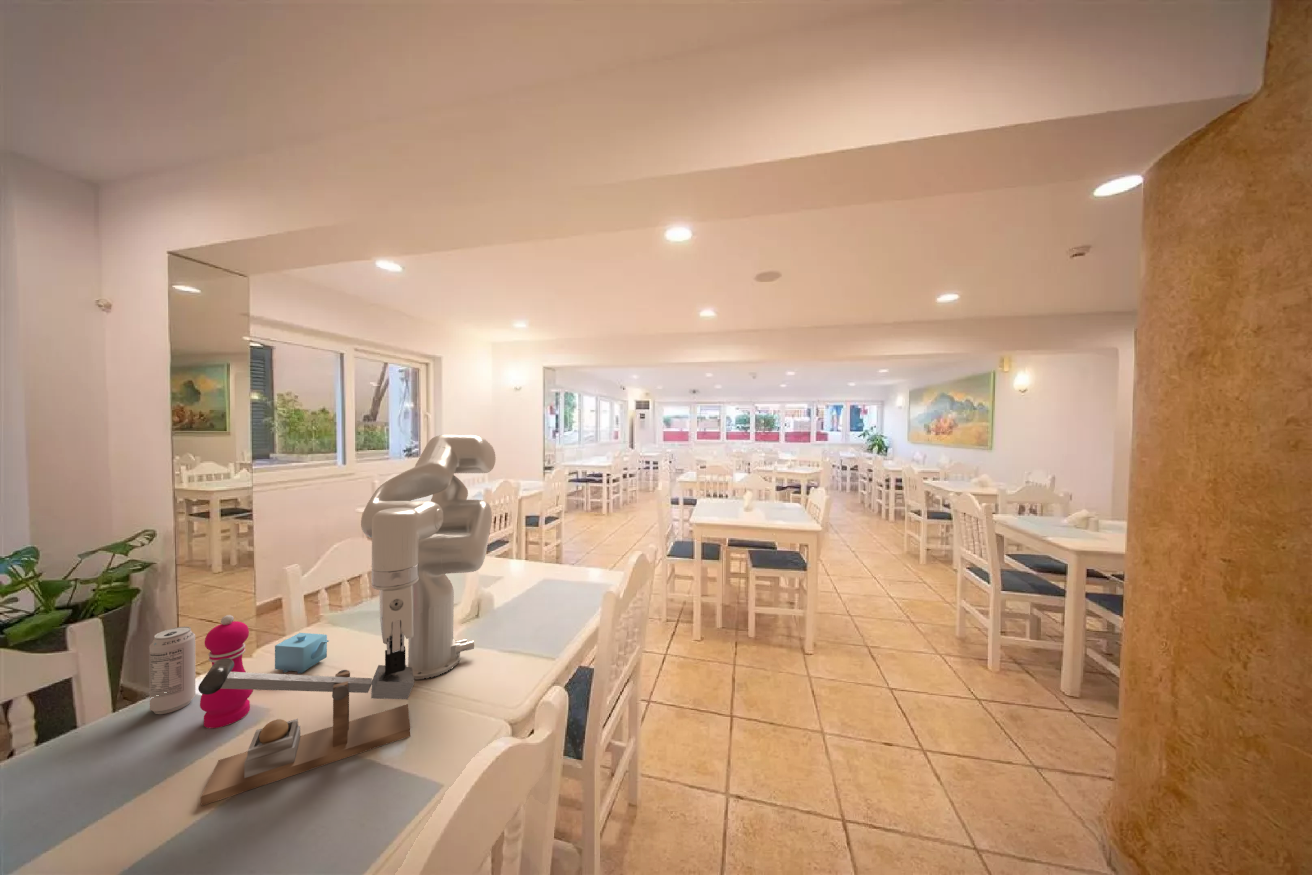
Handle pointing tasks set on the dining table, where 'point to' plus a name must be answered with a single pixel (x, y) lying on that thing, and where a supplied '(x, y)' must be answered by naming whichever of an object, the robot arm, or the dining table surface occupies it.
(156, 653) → the energy drink can
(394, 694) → the lever
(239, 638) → the pepper mill
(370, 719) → the stand
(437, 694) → the dining table surface
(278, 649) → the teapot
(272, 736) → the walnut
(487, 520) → the robot arm
